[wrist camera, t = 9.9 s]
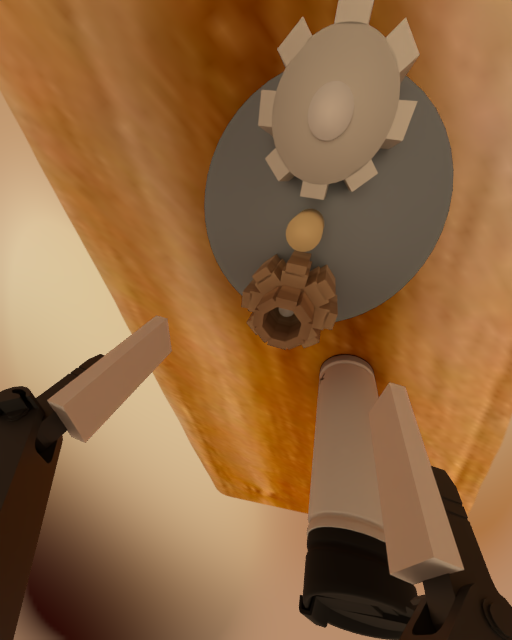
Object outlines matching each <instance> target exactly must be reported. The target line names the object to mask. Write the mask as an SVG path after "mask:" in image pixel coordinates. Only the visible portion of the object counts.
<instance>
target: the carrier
mask: <svg viewBox="0 0 512 640" xmlns="http://www.w3.org/2000/svg"><path fill="white" fill-rule="evenodd" d="M373 3H374V0H339V1H338V6H337V11H336V16H335V22H334V24H332V25H330V26H328V27H326V28H323V29H322V30H320V31H319V32H317V33H316V34H314V35H313V36H312V34H311V32H310V30H309V28H308V26H307V24H306V22H305V19H304V17H302V18H301V19H300V21H299V22H298V23H297V24H296V26H295V27H294V28H293V30H292V31H291V32H290V33H289V35H288V36H287V37H286V39H285V40H284V41H283V42H282V44H281V45H280V46H279V47H278V49H277V50H278V52H279V54H280V57H281V59H282V61H283V64H284V66H285V71H284V72H283V73H281V74H279V75H278V76H276V77H274V78H273V79H271V80H270V81H268V82H267V83H266V84H264V85H263V86H262V87H261V88H260V89H258V90H257V91H256V92H255V93H254V94H252V96H251V97H250V98H249V99H248V100H247V101H246V102H245V103H244V104H243V105H242V106H241V108H240V109H239V110H238V111H237V113H236V114H235V115H234V117H233V118H232V120H231V121H230V123H229V124H228V125H227V127H226V129H225V131H224V133H223V135H222V137H221V138H220V140H219V142H218V145H217V147H216V150H215V152H214V155H213V157H212V161H211V164H210V168H209V172H208V176H207V182H206V189H205V205H204V207H205V222H206V228H207V234H208V238H209V242H210V245H211V249H212V251H213V254H214V256H215V258H216V261H217V263H218V265H219V266H220V268H221V270H222V272H223V273H224V275H225V276H226V278H227V279H228V281H229V282H230V283H231V284H232V286H233V287H234V288H235V289H236V290H237V291H238V292H239V293H240V294H241V295H243V291H244V289H245V288H246V287H247V286H248V285H249V284H250V282H251V281H252V280H253V277H252V276H253V274H254V273H255V272H256V271H257V270H258V269H259V268H260V267H261V265H262V264H263V263H264V262H266V261H267V260H269V259H270V258H271V257H273V256H274V255H276V254H277V255H278V257H279V258H280V260H281V259H283V260H284V261H285V263H286V264H287V262H288V260H289V259H290V257H291V255H292V254H293V252H294V250H296V251H299V252H306V253H311V258H310V261H312V264H311V268H310V271H311V270H313V269H315V268H316V267H318V266H319V267H320V268H321V267H323V266H325V265H326V264H327V265H328V267H329V269H330V270H331V272H332V273H333V275H334V277H335V284H336V295H337V306H338V315H337V318H336V321H335V322H337V321H341V320H345V319H349V318H352V317H355V316H357V315H360V314H363V313H365V312H367V311H369V310H371V309H373V308H375V307H377V306H378V305H380V304H382V303H383V302H385V301H386V300H388V299H389V298H391V297H392V296H393V295H394V294H396V293H397V292H398V291H399V290H401V289H402V288H403V287H404V286H405V285H406V284H407V283H408V282H409V281H410V280H411V279H412V278H413V277H414V276H415V274H416V273H417V272H418V271H419V269H420V268H421V267H422V266H423V264H424V263H425V261H426V260H427V258H428V257H429V255H430V254H431V252H432V250H433V249H434V247H435V245H436V243H437V241H438V239H439V237H440V234H441V232H442V230H443V227H444V224H445V221H446V218H447V215H448V212H449V207H450V202H451V196H452V191H453V162H452V153H451V147H450V143H449V139H448V136H447V132H446V129H445V126H444V124H443V122H442V120H441V118H440V116H439V114H438V112H437V110H436V108H435V107H434V105H433V104H432V102H431V101H430V100H429V98H428V97H427V96H426V94H425V93H424V92H423V91H422V90H421V89H420V88H419V87H418V86H417V85H416V84H415V83H414V82H413V81H411V80H410V79H409V78H408V77H407V76H406V75H407V73H408V72H409V70H410V69H411V67H412V65H413V64H414V62H415V61H416V59H417V58H418V56H419V55H420V54H419V51H418V49H417V46H416V43H415V41H414V38H413V35H412V32H411V30H410V27H409V24H408V22H407V19H406V18H405V19H404V20H403V21H402V22H401V23H400V24H399V25H398V26H397V27H396V28H395V29H394V30H393V31H392V32H391V33H390V34H389V35H388V36H387V37H386V38H385V37H384V36H383V35H382V34H381V33H380V32H379V31H378V30H377V29H375V28H373V27H372V26H370V25H369V22H370V17H371V13H372V8H373ZM279 313H280V314H281V315H282V316H284V317H290V316H292V315H293V314H294V312H293V311H290V310H286V309H282V308H279Z"/></svg>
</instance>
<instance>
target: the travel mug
mask: <svg viewBox="0 0 512 640" xmlns="http://www.w3.org/2000/svg"><path fill="white" fill-rule="evenodd" d="M378 398H379V397H378V392H377V387H376V382H375V377H374V372H373V369H372V367H371V366H370V365H369V364H368V363H367V362H366V361H364V360H363V359H361V358H359V357H356V356H351V355H338V356H334V357H332V358H329V359H328V360H327V361H325V362H324V363H323V365H322V366H321V369H320V380H319V390H318V402H317V415H316V427H315V439H314V452H313V464H312V477H311V489H310V501H309V514H308V522H309V525H308V528H307V549H308V552H307V555H306V562H305V576H304V589H303V596H302V595H300V602H299V610H300V613H302V614H303V615H304V616H305V617H307V618H308V619H309V620H311V621H312V622H313V623H314V624H316V625H319V626H322V627H326V626H327V623H329V624H331V625H333V626H335V627H338V628H341V629H344V630H346V631H350V632H353V633H356V634H360V635H365V636H369V637H374V638H381V639H389V640H399V638H400V637H401V635H402V633H403V631H404V629H405V628H406V626H407V624H408V622H409V620H410V619H411V617H412V615H413V613H414V611H415V609H416V608H417V606H418V604H417V605H413V604H412V603H411V602H410V600H412V599H413V598H414V597H417V591H416V588H415V587H414V585H413V584H411V583H408V582H406V581H404V580H401V579H399V578H397V577H395V576H392V575H390V571H389V564H388V556H387V549H386V541H385V534H384V526H383V519H382V511H381V504H380V496H379V489H378V481H377V474H376V466H375V459H374V451H373V444H372V436H371V429H370V421H369V414H368V413H369V412H370V410H371V409H372V407H373V406H374V404H375V403H376V401H377V400H378Z"/></svg>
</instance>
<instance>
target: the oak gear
mask: <svg viewBox="0 0 512 640" xmlns="http://www.w3.org/2000/svg"><path fill="white" fill-rule="evenodd" d="M310 258H311V253H306V252H299V251H296V250H294V252H293V254H292V255H291V257H290V259H289V260H288V262H287V264H286V263H285V261H284V260H283V259H281V260H280V258H279V257H278V255H277V254H276V255H274V256H273V257H271V258H270V259H269V260H267V261H266V262H264V263H263V264H262V265H261V267H260V268H259V269H258V270H257V271H256V272H255V273H254V274H253V276H252V277H253V280H252V281H251V282H250V284H249V285H248V286H247V287H246V288H245V289H244V291H243V295H242V305H241V307H244V308H248V311H251V312H253V313H252V315H251V316H250V318H249V319H248V321H247V324H248V325H249V326H250V328H251V329H252V330H253V332H254V333H255V334H256V335H257V334H258V335H259V336H260V338H261V339H262V340H263V341H264V343H265V342H267V341H268V344H267V345H270V346H274V347H277V348H281V349H284V350H285V349H286V348H288V349H292V348H294V347H296V346H299V345H302V346H303V347H304V348H306V347H309V346H311V345H314V344H316V343H319V339H320V330H323V329H324V328H325V329H329V330H332V328H333V326H334V323H335V321H336V318H337V315H338V306H337V295H336V284H335V277H334V275H333V273H332V272H331V270H330V269H329V267H328V265H327V264H326V265H325V266H323V267H321V268H320V267H319V266H318V267H316V268H315V269H313V270H311V271H310V268H311V264H312V261H310ZM279 308H282V309H286V310H290V311H293V312H294V314H293V315H292V316H290V317H284V316H282V315H281V314H280V313H279Z"/></svg>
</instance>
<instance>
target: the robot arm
mask: <svg viewBox="0 0 512 640" xmlns="http://www.w3.org/2000/svg"><path fill="white" fill-rule="evenodd" d="M171 351H172V350H171V343H170V335H169V328H168V321H167V318H163V317H160V316H155V317H154V318H153V319H151V320H150V321H149V322H147V323H146V324H145V325H144V326H142V327H141V328H140V329H138V330H137V331H136V332H135V333H133V334H132V335H131V336H129V337H128V338H127V339H126V340H124V341H123V342H122V343H120V344H119V345H118V346H117V347H115V348H114V349H113V350H111V351H110V352H109V353H107V354H106V355H102V354H99V355H97V356H95V357H93V358H90V359H88V360H87V361H86V362H84V363H83V364H82V365H80V366H79V368H76V369H75V370H74V371H72V372H71V374H68V375H67V376H66V377H64V378H63V379H61V380H60V381H59V382H57V383H56V384H55V385H53V386H52V387H51V388H49V389H48V390H47V391H45V392H44V393H43V394H41V395H40V396H38V397H37V398H35V397H34V395H33V394H32V393H31V391H30V390H29V389H28V388H27V387H23V386H20V387H12V388H9V389H6V390H3V391H1V392H0V640H13V638H14V634H15V630H16V626H17V622H18V618H19V614H20V610H21V606H22V602H23V598H24V594H25V590H26V586H27V582H28V578H29V574H30V570H31V566H32V562H33V558H34V554H35V550H36V546H37V542H38V538H39V534H40V530H41V526H42V521H43V517H44V514H45V510H46V505H47V501H48V498H49V493H50V490H51V486H52V481H53V477H54V473H55V469H56V465H57V461H58V457H59V453H60V449H61V445H62V441H63V438H62V437H63V436H62V434H64V433H65V432H66V431H68V432H69V433H70V435H71V437H73V438H75V439H78V440H80V441H82V442H85V443H86V441H88V439H89V438H90V437H91V436H92V435H93V434H94V433H95V432H96V431H97V430H98V429H99V428H100V427H101V426H102V425H103V423H104V422H105V421H106V420H107V419H108V418H109V417H110V416H111V415H112V414H113V413H114V412H115V411H116V410H117V409H118V408H119V407H120V405H121V404H122V403H123V402H124V401H125V400H126V399H127V398H128V397H129V396H130V395H131V394H132V393H133V392H134V391H135V390H136V389H137V387H138V386H139V385H140V384H141V383H142V382H143V381H144V380H145V379H146V378H147V377H148V376H149V375H150V374H151V373H152V372H153V370H154V369H155V368H156V367H157V366H158V365H159V364H160V363H161V362H162V361H163V360H164V359H165V358H166V357H167V356H168V355H169V353H170V352H171ZM368 414H369V421H370V429H371V436H372V444H373V451H374V459H375V466H376V474H377V481H378V489H379V496H380V504H381V511H382V519H383V526H384V534H385V541H386V549H387V556H388V564H389V571H390V575H392V576H395V577H397V578H399V579H401V580H404V581H406V582H408V583H411V584H413V585H414V584H417V583H420V582H423V585H424V590H425V595H421V596H417V597H414V598H413V599H412V600H410V602H411V603H412V604H413V605H417V604H418V606H417V608H416V609H415V611H414V613H413V615H412V617H411V619H410V620H409V622H408V624H407V626H406V628H405V629H404V631H403V633H402V635H401V637H400V638H399V640H512V607H511V605H510V604H509V603H508V602H507V600H506V599H505V598H503V596H501V595H500V594H499V593H498V591H497V589H496V588H495V586H494V583H493V581H492V579H491V577H490V574H489V572H488V569H487V567H486V564H485V561H484V559H483V556H482V553H481V551H480V548H479V546H478V543H477V541H476V538H475V535H474V533H473V530H472V527H471V525H470V522H469V521H468V520H467V518H468V517H467V514H466V512H465V509H464V507H463V506H462V501H461V499H460V496H459V493H458V491H457V488H456V486H455V485H454V483H453V482H452V480H451V479H450V477H449V476H448V474H447V473H446V472H445V470H442V469H439V468H436V467H433V466H431V465H430V462H429V459H428V456H427V453H426V450H425V447H424V444H423V440H422V437H421V434H420V431H419V428H418V425H417V422H416V419H415V416H414V413H413V410H412V407H411V403H410V400H409V397H408V394H407V391H406V388H405V387H404V386H400V385H397V384H393V383H390V382H389V384H388V385H387V387H386V388H385V390H384V391H383V393H382V394H381V395H380V397H379V398H378V400H377V401H376V403H375V404H374V406H373V407H372V409H371V410H370V412H369V413H368Z"/></svg>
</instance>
